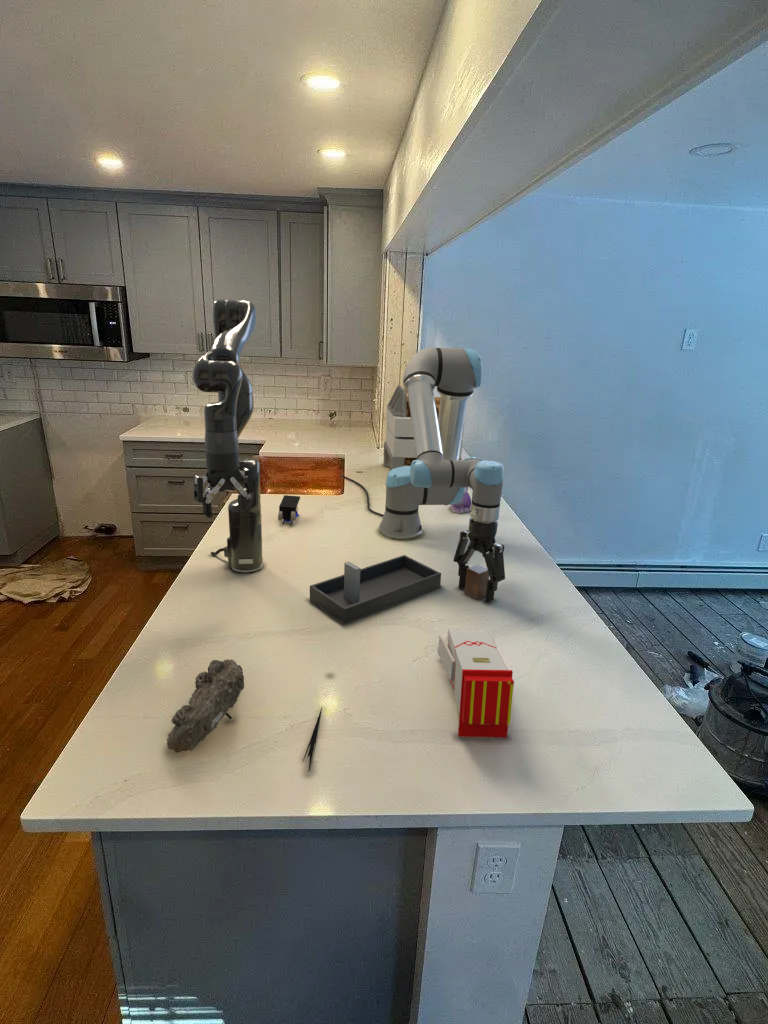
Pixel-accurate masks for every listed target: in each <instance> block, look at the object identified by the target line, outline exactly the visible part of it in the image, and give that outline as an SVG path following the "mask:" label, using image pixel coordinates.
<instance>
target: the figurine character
mask: <svg viewBox="0 0 768 1024" xmlns="http://www.w3.org/2000/svg"><path fill="white" fill-rule="evenodd" d="M300 499H301V495H287V494H284V495H283V497H282V500H281V502H280V504H279V506H278V514H277V521H279V522H282V523H281V525H283V526H284V525H285V524H286V523H290V524H289V525H290V526H292V525H293V523H294V522H295V521H296V519H297V517H299V513H298V511H299V507H298V504H299V502H300Z"/></svg>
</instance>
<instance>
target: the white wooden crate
mask: <svg viewBox="0 0 768 1024" xmlns="http://www.w3.org/2000/svg"><path fill="white" fill-rule="evenodd" d="M440 399H441V396H434V400H435V406H436V412H437V419H438V415H439V407H440ZM385 414H386V415H385V423H386V428H385V438H384V442H383V466H384V467H388V468H389V471H391V470H392V469H394V468H397V467H402V466H411V463H412V461H414V460H417V458H416V450H415V443H414V435H413V428H412V420H411V413H410V405H409V398H408V394H407V393H406V392H405V390H404V387H402V385H399V384H398V385H397V386H396V388H395V390H394V392H393V394H392V395H391V398H390V400H389V402H388V404H387V405H386V413H385ZM464 422H465V419H464ZM464 429H465V424H464V425H463V432H462V439H463V438H464V431H465V430H464ZM462 439H461V446H460V453H459V459H458V460H462V453H463V442H464V441H463V440H462Z"/></svg>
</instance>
